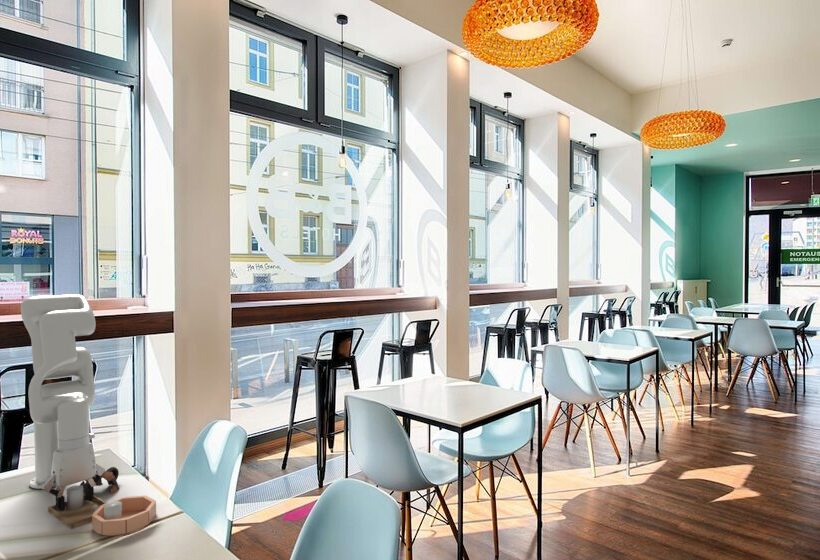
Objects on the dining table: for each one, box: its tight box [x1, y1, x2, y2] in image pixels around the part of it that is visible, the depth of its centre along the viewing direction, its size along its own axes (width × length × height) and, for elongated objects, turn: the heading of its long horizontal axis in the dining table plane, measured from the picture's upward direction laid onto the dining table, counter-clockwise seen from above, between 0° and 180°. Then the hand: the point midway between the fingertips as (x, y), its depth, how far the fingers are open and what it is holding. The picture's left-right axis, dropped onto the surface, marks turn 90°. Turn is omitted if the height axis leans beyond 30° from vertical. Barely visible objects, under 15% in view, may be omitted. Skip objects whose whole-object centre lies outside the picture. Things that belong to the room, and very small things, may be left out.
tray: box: [47, 494, 108, 530], centre depth 142 cm, size 16×11×2 cm
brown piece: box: [79, 466, 120, 495], centre depth 156 cm, size 12×10×8 cm
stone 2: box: [104, 500, 122, 520], centre depth 134 cm, size 4×4×6 cm
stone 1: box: [65, 484, 84, 511], centre depth 144 cm, size 4×4×6 cm
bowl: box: [91, 495, 157, 537], centre depth 136 cm, size 14×14×4 cm
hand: (75, 504), depth 144 cm, fingers open, 6 cm apart
